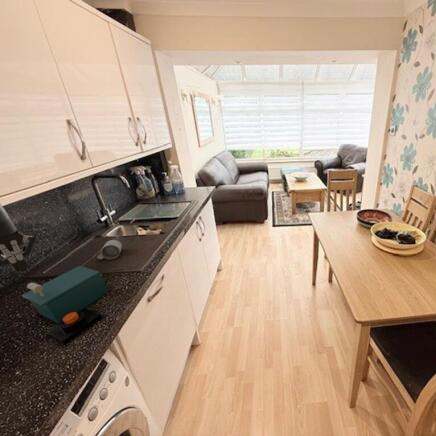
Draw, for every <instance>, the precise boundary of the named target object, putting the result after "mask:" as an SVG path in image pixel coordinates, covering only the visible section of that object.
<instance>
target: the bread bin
mask: <svg viewBox="0 0 436 436" xmlns="http://www.w3.org/2000/svg"><path fill="white" fill-rule="evenodd" d="M109 292H110V290H109V288H108V286H107V284H106V282H105V281H104V278H103V276H102V274H101V273H100V274H98V275H96V276H95V277H93V278H91V279H89V280H88V281H86V282H84V283H82V284H81V285H79V286H77V287H75V288H74V289H72V290H70V291H68V292H67V293H65V294H63V295H61V296H60V297H58V298H56V299H54V300H53V301H51V302H49V303H47V304H46V305H44V306H41V305H39V304H37V303H35V302H33V301H31V300H29V301H30V303H31V304H32V305H33V307H34V309H36V311H37V312H38V314H39V315H40V316H43V317H44V318H46V319H49V320H50V321H53V322H54V323H56V324H59V323H60V322H61V320H62V319H63V318H64V317H65V316H66V315H67V314H69V313H72V312H79V311H80V310H82V309H83V308H86V307H88V306H89V305H91V304H92V303H94V302H95V301H97V300H98V299H100V298H102V297H103V296H105V295H106V294H108V293H109Z"/></svg>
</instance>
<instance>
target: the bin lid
mask: <svg viewBox="0 0 436 436" xmlns="http://www.w3.org/2000/svg"><path fill="white" fill-rule="evenodd" d="M98 274H101V273H100V271H98V270H96V269H95V270H94V269H91V268H88V267H85V266H82V265H78V266H76V267H74V268H72V269H70V270H68V271H66V272H64V273H63V274H60V275H58V276H57V277H54V278H53V279H50V280H49V281H47V282H45V283H43V284H41V285H40V284H37V283H35V282H30V283H28V284H27V286H26V288H27V289H29V291H27V292H25V293H23V294H22V295H21V296H22V298H24V299H26V300H28V301H30V300H31V301H33V302H35V303H37V304H39V305H41V306H44V305H46V304H47V303H49V302H51V301H53V300H54V299H56V298H58V297H60V296H61V295H63V294H65V293H67V292H68V291H70V290H72V289H74V288H75V287H77V286H79V285H81V284H82V283H84V282H86V281H88V280H89V279H91V278H93V277H95V276H96V275H98ZM31 301H30V302H31Z"/></svg>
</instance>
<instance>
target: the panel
mask: <svg viewBox="0 0 436 436" xmlns="http://www.w3.org/2000/svg"><path fill="white" fill-rule="evenodd" d="M76 313H77V314H78V316H79V318H78V319H77V320H76V321H75V322H73V323H71V324H65V323H64V321H63V319H62V320H61V322H60V323H58V324H57V325H56V326H55V327H52V329H50V330H49V331H47V332H46V334H47V335H48V336H49V337H50V338H51V339H53V340H55V341H57V342H59V343H61V344H63V345H67V344H68V343H70V342H71V341H73V339H76V337H78V336H79V335H80V334H82V333H83V332H85V331H86V330H88V329H89V328H90V327H91V326H93V325H94V324H95V323H97V322H99V321H100V320H102V316H101V314H100V313H97V312H95V311H93V310H91V309H88V308H86V307H85V308H83V309H82V310H80V311H79V312H76Z"/></svg>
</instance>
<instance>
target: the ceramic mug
mask: <svg viewBox="0 0 436 436" xmlns="http://www.w3.org/2000/svg"><path fill="white" fill-rule="evenodd" d="M122 248H123V245H122V243H121V242H120V241H119V240H116V239H110V240H108V241H106V242H105V243H104V245H103V246H102V248H101V250H100V253H99V255H97V259H98V260H99V261H100V260H103V259H106V260H114V259H117V258H119V256H120V255H121V252H122Z"/></svg>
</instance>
